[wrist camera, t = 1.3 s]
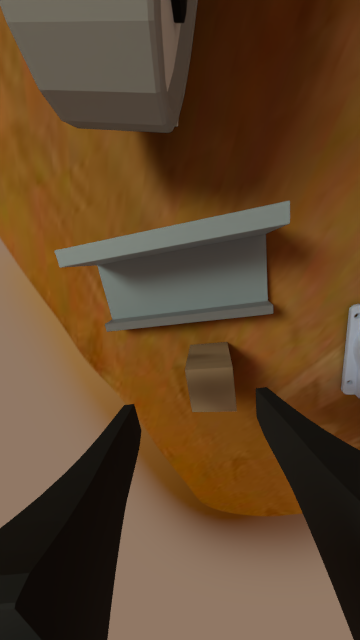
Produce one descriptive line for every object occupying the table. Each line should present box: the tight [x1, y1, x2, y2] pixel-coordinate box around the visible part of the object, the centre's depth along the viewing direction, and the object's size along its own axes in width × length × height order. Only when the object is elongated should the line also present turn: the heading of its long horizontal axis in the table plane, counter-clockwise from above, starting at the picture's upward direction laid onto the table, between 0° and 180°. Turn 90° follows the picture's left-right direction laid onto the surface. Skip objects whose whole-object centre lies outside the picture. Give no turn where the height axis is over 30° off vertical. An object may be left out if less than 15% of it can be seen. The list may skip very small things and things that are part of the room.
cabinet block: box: [185, 342, 237, 412], centre depth 19 cm, size 5×4×5 cm
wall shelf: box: [55, 201, 290, 332], centre depth 16 cm, size 8×16×6 cm, turn 100°
